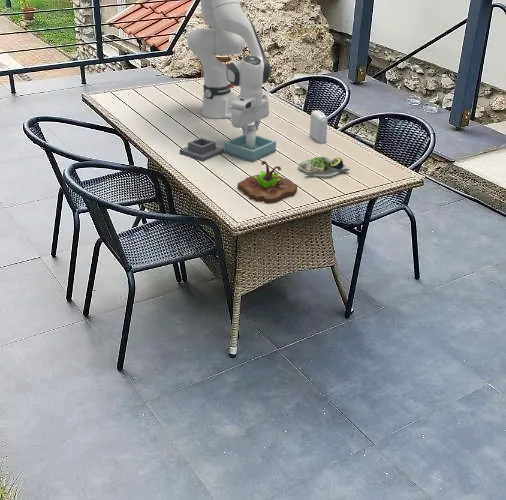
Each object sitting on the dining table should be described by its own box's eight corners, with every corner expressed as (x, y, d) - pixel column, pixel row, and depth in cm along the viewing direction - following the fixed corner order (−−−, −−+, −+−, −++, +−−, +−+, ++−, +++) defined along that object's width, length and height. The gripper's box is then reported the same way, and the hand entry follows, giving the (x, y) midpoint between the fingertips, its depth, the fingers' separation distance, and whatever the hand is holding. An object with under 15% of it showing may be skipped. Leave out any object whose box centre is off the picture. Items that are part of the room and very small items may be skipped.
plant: (269, 175, 251) (270, 147, 246) (305, 192, 239) (307, 163, 233) (228, 189, 240) (229, 160, 234) (264, 207, 227) (266, 178, 222)
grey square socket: (201, 144, 277) (200, 134, 274) (224, 152, 270) (224, 141, 268) (179, 153, 268) (179, 142, 266) (203, 161, 261) (203, 150, 259)
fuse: (249, 147, 272) (250, 124, 268) (257, 149, 270) (258, 126, 266) (243, 149, 270) (244, 126, 265) (251, 152, 267) (252, 128, 263)
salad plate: (320, 185, 245) (321, 174, 242) (287, 170, 256) (287, 159, 254) (354, 172, 256) (355, 161, 254) (320, 158, 267) (321, 147, 265)
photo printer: (308, 135, 289) (310, 108, 283) (317, 134, 290) (319, 107, 284) (318, 143, 281) (320, 116, 274) (327, 142, 282) (329, 115, 276)
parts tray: (247, 143, 279) (247, 132, 277) (275, 151, 272) (276, 141, 269) (224, 152, 269) (224, 142, 267) (253, 162, 261) (253, 151, 259)
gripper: (261, 91, 268) (260, 124, 275) (228, 103, 254) (228, 137, 261) (273, 94, 265) (272, 127, 272) (241, 106, 251) (240, 141, 258)
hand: (250, 132), depth 266 cm, fingers open, 5 cm apart
